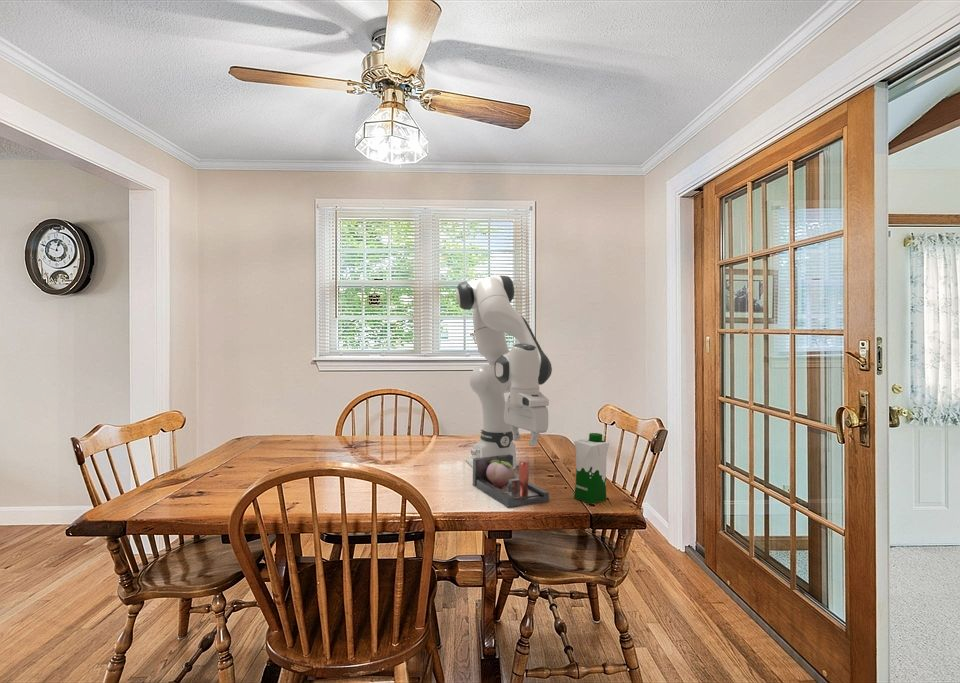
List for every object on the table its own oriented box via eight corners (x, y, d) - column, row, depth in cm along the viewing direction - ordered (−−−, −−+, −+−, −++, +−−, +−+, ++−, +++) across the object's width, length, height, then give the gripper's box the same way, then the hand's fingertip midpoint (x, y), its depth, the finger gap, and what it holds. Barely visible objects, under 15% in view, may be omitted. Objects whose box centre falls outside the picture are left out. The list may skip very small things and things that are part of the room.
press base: (472, 485, 173) (473, 458, 173) (509, 480, 179) (510, 454, 179) (508, 507, 152) (508, 477, 151) (548, 501, 158) (549, 472, 158)
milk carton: (610, 500, 160) (612, 435, 159) (591, 506, 154) (592, 439, 154) (588, 493, 167) (589, 431, 166) (569, 498, 161) (570, 434, 161)
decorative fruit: (519, 487, 171) (519, 457, 171) (507, 494, 164) (507, 462, 164) (494, 482, 176) (495, 453, 176) (481, 488, 169) (482, 458, 169)
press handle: (501, 498, 160) (502, 460, 159) (528, 494, 164) (529, 457, 164) (511, 504, 154) (512, 465, 154) (539, 500, 158) (540, 462, 158)
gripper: (499, 394, 165) (499, 438, 165) (533, 401, 146) (533, 450, 146) (516, 393, 167) (516, 436, 168) (552, 400, 149) (552, 448, 149)
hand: (524, 443), depth 157 cm, fingers open, 8 cm apart
